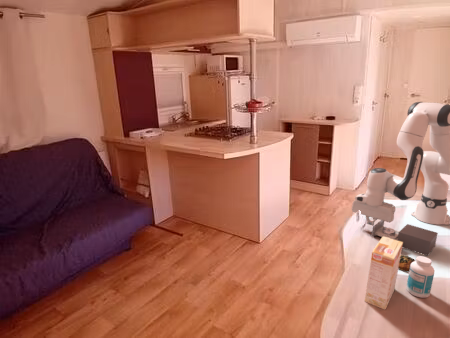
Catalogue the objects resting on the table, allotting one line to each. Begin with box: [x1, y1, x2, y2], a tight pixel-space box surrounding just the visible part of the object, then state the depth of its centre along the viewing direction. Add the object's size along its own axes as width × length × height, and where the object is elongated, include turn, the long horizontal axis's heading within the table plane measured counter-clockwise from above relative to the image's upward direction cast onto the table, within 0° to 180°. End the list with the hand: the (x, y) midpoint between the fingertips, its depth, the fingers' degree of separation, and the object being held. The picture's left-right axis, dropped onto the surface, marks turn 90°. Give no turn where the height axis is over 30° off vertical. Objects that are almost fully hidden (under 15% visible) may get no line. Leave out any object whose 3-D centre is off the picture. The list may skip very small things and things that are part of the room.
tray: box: [371, 220, 400, 240], centre depth 155 cm, size 13×13×6 cm
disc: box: [382, 226, 396, 236], centre depth 156 cm, size 6×6×2 cm
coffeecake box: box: [364, 236, 403, 310], centre depth 109 cm, size 15×7×20 cm, turn 141°
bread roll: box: [398, 254, 416, 273], centre depth 131 cm, size 11×11×5 cm
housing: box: [397, 223, 439, 257], centre depth 147 cm, size 13×13×7 cm
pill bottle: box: [406, 255, 435, 299], centre depth 112 cm, size 8×7×14 cm
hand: (370, 224), depth 162 cm, fingers closed
